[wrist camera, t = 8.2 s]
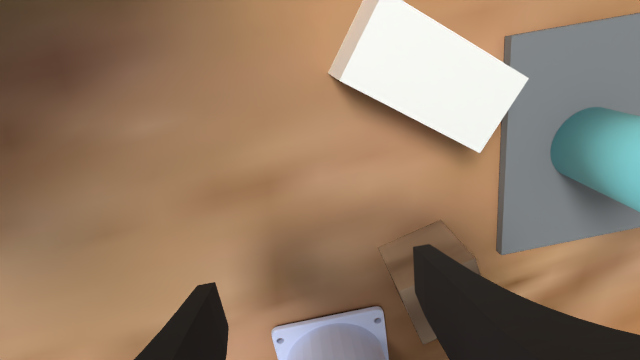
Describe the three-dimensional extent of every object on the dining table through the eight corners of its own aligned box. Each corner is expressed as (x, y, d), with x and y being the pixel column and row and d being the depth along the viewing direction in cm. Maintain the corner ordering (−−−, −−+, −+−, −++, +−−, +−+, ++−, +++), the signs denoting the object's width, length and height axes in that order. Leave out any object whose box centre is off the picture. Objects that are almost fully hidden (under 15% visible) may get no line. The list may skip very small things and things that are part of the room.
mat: (631, 222, 25) (639, 227, 24) (496, 250, 25) (501, 255, 24) (676, 6, 20) (688, 5, 19) (504, 36, 19) (511, 36, 19)
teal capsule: (613, 168, 23) (747, 223, 16) (547, 182, 22) (656, 242, 16) (625, 100, 21) (780, 130, 14) (553, 114, 21) (678, 152, 14)
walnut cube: (457, 269, 25) (493, 315, 21) (399, 294, 25) (422, 344, 21) (440, 219, 23) (475, 258, 19) (377, 246, 24) (398, 291, 19)
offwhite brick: (482, 71, 20) (528, 78, 16) (444, 133, 21) (479, 153, 18) (362, -1, 18) (384, -11, 14) (327, 72, 19) (339, 80, 16)
